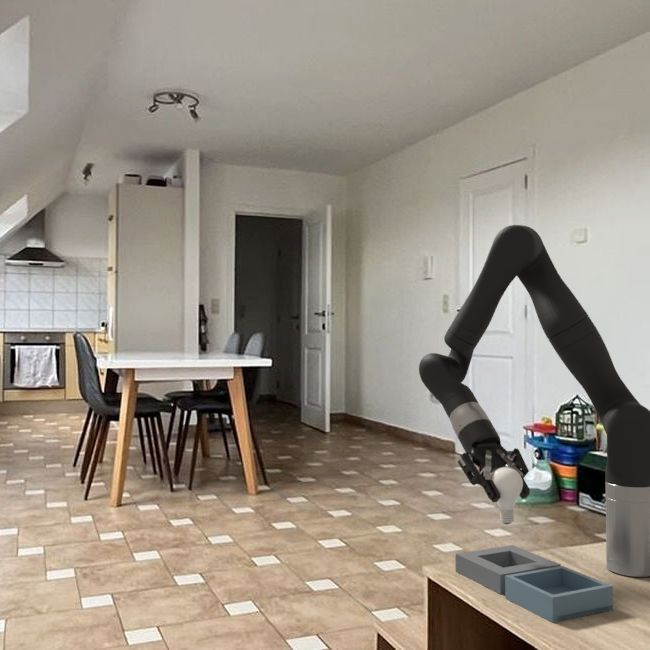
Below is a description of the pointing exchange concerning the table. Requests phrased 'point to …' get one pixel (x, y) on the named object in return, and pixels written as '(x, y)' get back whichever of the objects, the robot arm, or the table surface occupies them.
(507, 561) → the socket block
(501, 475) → the lightbulb
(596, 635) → the table surface
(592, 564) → the table surface
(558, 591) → the parts tray
